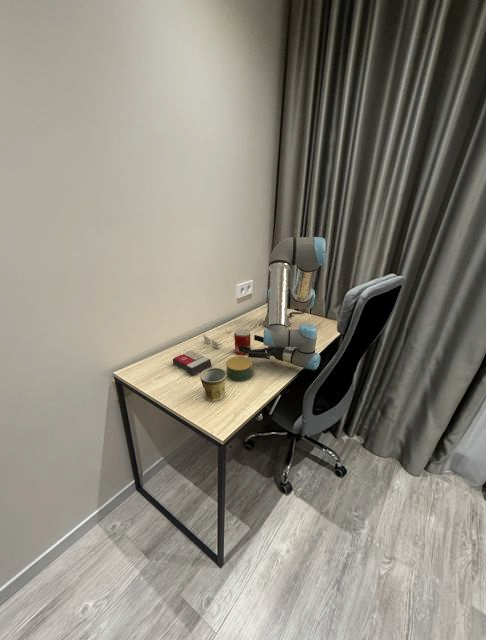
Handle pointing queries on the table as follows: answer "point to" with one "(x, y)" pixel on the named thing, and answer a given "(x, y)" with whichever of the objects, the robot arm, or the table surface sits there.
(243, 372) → the tin
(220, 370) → the ceramic cup
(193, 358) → the calculator
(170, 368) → the table surface
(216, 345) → the eyeglasses
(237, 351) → the canned food
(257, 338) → the robot arm
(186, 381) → the table surface
